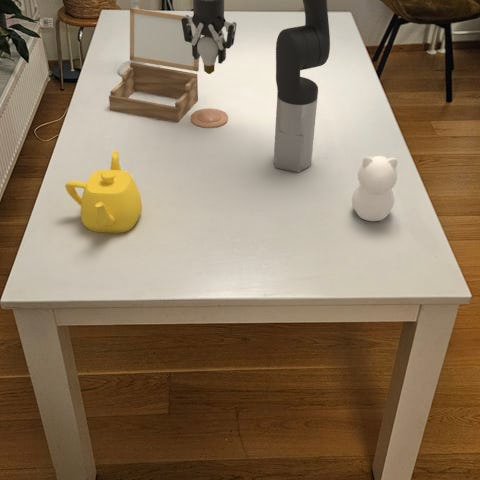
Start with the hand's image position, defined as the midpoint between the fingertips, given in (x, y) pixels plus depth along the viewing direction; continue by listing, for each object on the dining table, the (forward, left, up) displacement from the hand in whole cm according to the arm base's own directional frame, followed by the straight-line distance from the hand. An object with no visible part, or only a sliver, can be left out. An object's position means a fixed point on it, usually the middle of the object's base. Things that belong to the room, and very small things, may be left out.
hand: (209, 60), depth 178 cm
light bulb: (0, 0, -4) cm, 4 cm away
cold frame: (+2, +17, -17) cm, 24 cm away
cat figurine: (-27, -49, -17) cm, 58 cm away
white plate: (+21, +31, -17) cm, 41 cm away
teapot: (-50, +4, -17) cm, 53 cm away
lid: (+10, +17, -1) cm, 20 cm away
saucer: (0, 0, -17) cm, 17 cm away
